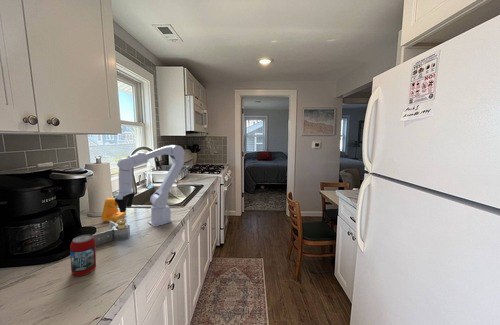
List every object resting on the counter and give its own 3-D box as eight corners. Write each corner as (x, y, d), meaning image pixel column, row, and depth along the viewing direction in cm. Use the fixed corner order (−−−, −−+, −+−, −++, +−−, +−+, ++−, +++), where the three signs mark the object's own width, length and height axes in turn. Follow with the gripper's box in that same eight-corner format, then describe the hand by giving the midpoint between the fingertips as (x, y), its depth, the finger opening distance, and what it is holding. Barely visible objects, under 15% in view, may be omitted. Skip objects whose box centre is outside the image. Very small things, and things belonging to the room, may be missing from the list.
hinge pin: (124, 234, 102) (124, 218, 101) (128, 237, 99) (128, 220, 98) (115, 237, 98) (115, 220, 98) (118, 240, 96) (118, 223, 95)
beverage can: (68, 279, 69) (66, 244, 68) (74, 268, 75) (72, 235, 74) (94, 274, 72) (93, 240, 71) (97, 263, 78) (96, 232, 77)
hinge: (117, 228, 108) (117, 218, 107) (132, 236, 100) (132, 226, 99) (83, 238, 96) (82, 228, 95) (96, 249, 88) (96, 237, 87)
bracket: (115, 223, 114) (114, 201, 113) (101, 222, 114) (100, 200, 113) (126, 215, 125) (126, 195, 124) (114, 215, 125) (114, 195, 124)
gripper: (122, 179, 111) (123, 205, 112) (109, 185, 96) (110, 214, 98) (137, 179, 112) (137, 204, 113) (126, 185, 98) (127, 214, 99)
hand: (126, 209), depth 106 cm, fingers open, 7 cm apart
